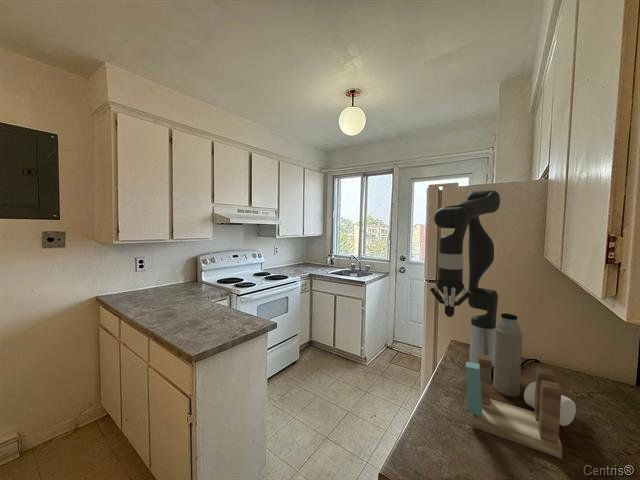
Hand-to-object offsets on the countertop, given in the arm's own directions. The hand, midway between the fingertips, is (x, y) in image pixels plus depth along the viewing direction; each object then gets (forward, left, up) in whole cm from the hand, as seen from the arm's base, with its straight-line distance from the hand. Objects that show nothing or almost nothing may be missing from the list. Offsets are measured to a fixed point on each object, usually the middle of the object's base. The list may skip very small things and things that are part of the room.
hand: (449, 316), depth 91 cm
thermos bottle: (-18, +18, -29) cm, 39 cm away
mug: (-11, +30, -29) cm, 43 cm away
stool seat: (+4, +18, -29) cm, 35 cm away
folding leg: (+8, +9, -26) cm, 29 cm away
